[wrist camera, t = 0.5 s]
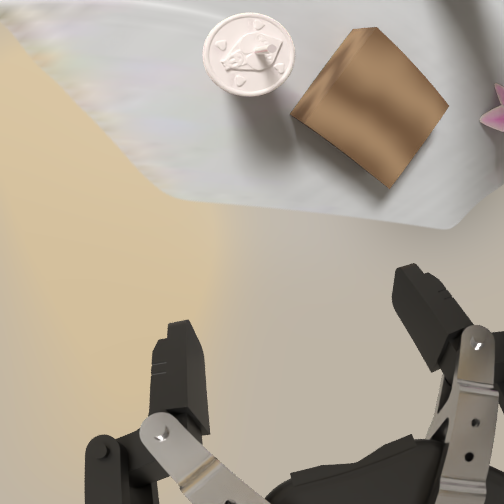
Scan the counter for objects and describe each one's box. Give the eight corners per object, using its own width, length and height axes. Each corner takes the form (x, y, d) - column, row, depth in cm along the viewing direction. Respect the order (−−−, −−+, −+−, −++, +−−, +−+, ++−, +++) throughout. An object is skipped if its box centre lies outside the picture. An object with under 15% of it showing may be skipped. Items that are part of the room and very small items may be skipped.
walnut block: (352, 29, 26) (376, 27, 22) (422, 97, 31) (449, 106, 27) (289, 114, 31) (304, 123, 27) (368, 172, 36) (389, 189, 32)
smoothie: (278, 71, 28) (333, 81, 17) (219, 98, 29) (235, 124, 17) (250, 16, 25) (290, -14, 13) (189, 43, 25) (183, 28, 14)
